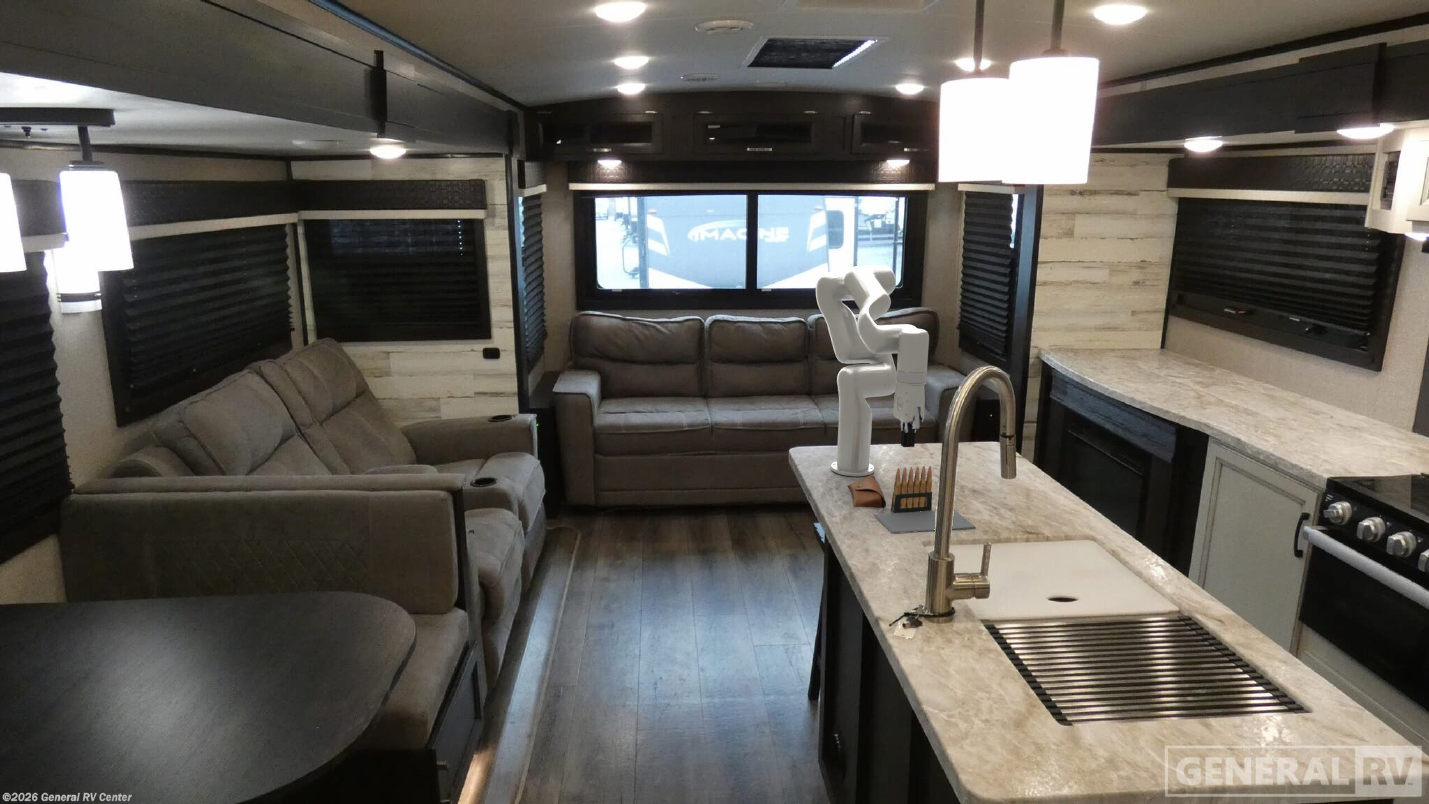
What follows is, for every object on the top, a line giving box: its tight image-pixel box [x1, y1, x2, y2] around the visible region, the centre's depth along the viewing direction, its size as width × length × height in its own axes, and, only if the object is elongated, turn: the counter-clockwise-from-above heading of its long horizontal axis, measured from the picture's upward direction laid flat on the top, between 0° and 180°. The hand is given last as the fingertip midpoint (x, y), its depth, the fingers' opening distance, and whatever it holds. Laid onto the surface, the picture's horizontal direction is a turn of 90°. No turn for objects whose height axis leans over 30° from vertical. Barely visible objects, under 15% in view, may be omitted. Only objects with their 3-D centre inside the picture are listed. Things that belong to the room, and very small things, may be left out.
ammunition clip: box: [890, 465, 933, 513], centre depth 231 cm, size 11×2×12 cm, turn 104°
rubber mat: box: [873, 509, 977, 534], centre depth 224 cm, size 12×22×1 cm, turn 101°
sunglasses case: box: [847, 474, 887, 509], centre depth 242 cm, size 18×7×7 cm
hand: (907, 446), depth 233 cm, fingers closed
